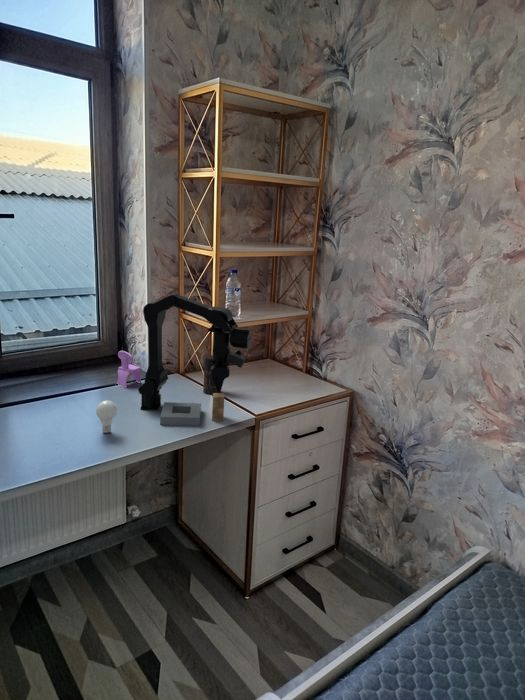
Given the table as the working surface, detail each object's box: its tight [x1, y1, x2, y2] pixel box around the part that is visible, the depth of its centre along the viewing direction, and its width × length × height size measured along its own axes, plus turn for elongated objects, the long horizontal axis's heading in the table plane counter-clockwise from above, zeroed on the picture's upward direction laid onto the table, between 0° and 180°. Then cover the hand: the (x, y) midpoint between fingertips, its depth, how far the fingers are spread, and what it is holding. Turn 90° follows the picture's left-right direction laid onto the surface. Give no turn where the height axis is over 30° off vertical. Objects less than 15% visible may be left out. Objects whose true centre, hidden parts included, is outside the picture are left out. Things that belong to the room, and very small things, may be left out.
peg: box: [211, 392, 225, 422], centre depth 177 cm, size 4×4×9 cm
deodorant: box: [202, 354, 219, 396], centre depth 202 cm, size 6×6×15 cm
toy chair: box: [115, 350, 142, 388], centre depth 204 cm, size 8×9×15 cm
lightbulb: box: [95, 399, 118, 434], centre depth 160 cm, size 6×6×11 cm
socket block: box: [159, 401, 202, 427], centre depth 176 cm, size 13×13×3 cm
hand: (218, 387), depth 175 cm, fingers open, 9 cm apart
